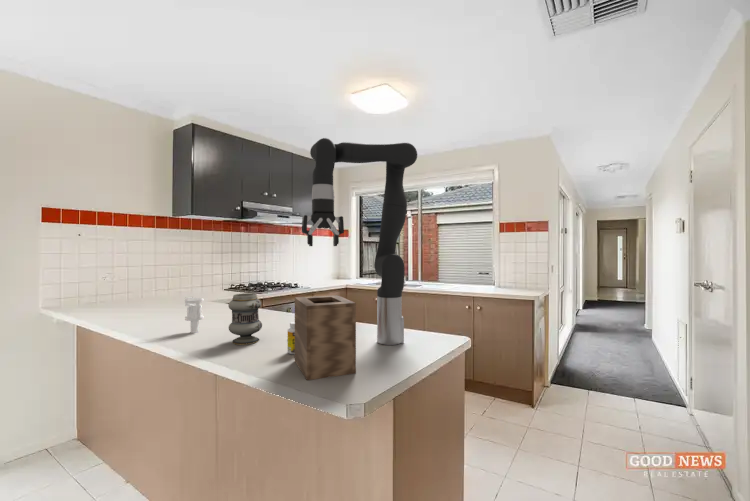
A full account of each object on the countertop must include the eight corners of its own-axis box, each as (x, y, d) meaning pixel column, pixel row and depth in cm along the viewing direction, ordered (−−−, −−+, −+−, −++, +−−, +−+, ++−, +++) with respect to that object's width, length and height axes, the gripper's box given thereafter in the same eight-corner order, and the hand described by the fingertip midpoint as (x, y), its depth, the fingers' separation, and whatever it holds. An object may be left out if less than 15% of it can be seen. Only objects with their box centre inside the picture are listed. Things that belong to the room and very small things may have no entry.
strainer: (182, 332, 153) (182, 296, 153) (199, 329, 158) (199, 295, 158) (189, 335, 148) (189, 298, 148) (206, 331, 154) (206, 296, 153)
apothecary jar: (228, 339, 142) (228, 293, 141) (260, 336, 146) (260, 291, 146) (228, 347, 130) (228, 296, 130) (263, 343, 135) (263, 295, 135)
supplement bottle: (291, 355, 120) (290, 324, 120) (285, 351, 124) (285, 322, 124) (306, 353, 123) (306, 323, 123) (300, 349, 128) (300, 320, 127)
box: (337, 355, 120) (337, 295, 120) (355, 373, 103) (355, 302, 103) (294, 360, 115) (294, 297, 114) (306, 380, 98) (306, 306, 98)
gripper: (339, 201, 131) (339, 246, 131) (300, 199, 125) (300, 246, 126) (346, 198, 124) (346, 246, 124) (304, 196, 119) (304, 246, 119)
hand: (323, 246), depth 125 cm, fingers open, 8 cm apart
